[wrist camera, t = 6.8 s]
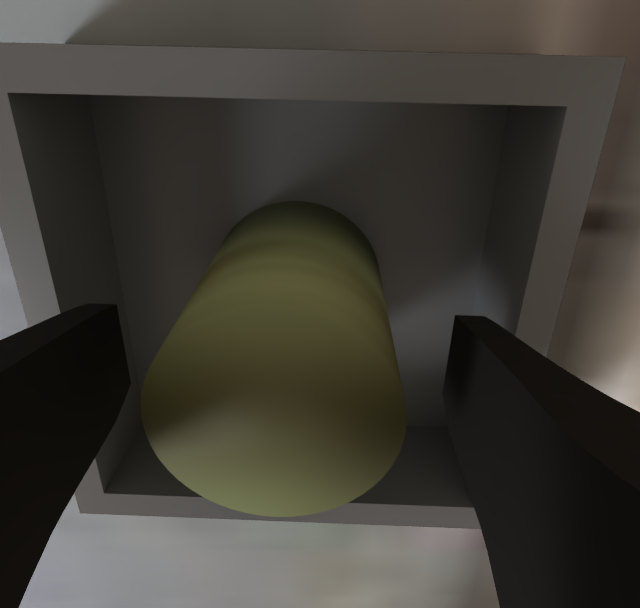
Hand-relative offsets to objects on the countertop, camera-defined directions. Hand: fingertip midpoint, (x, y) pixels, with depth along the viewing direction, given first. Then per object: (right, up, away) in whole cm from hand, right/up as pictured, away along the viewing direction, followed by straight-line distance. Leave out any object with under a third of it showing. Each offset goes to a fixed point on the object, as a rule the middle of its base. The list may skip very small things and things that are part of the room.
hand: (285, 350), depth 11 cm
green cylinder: (0, +2, +3) cm, 4 cm away
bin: (0, +2, +4) cm, 4 cm away
